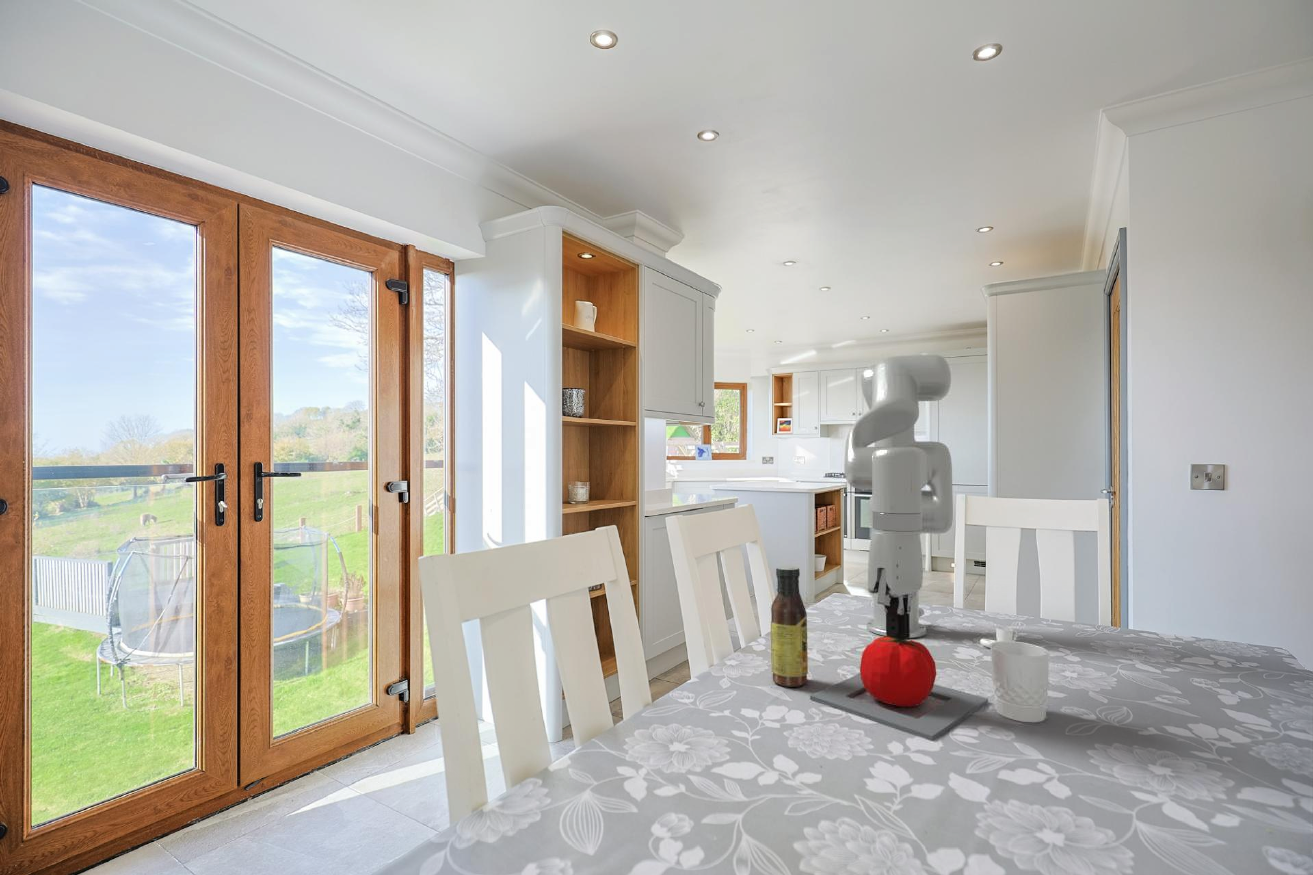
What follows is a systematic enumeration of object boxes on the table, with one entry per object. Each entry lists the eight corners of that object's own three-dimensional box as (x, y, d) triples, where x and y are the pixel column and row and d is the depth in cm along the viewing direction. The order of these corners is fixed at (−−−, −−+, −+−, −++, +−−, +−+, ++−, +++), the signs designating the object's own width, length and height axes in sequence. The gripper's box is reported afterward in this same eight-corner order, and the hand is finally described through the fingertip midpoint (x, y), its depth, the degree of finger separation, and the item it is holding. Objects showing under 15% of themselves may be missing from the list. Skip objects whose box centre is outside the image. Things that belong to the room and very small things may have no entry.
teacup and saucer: (982, 651, 129) (982, 631, 130) (975, 640, 137) (975, 621, 137) (1031, 655, 127) (1031, 635, 127) (1021, 644, 134) (1021, 625, 135)
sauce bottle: (811, 689, 108) (810, 571, 109) (774, 688, 108) (773, 571, 109) (803, 675, 115) (802, 564, 115) (768, 675, 115) (768, 564, 115)
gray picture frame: (873, 670, 117) (873, 667, 117) (988, 702, 102) (988, 698, 102) (810, 699, 104) (810, 695, 104) (932, 740, 89) (931, 736, 89)
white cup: (1034, 704, 101) (1033, 641, 102) (1060, 726, 94) (1059, 657, 94) (982, 703, 102) (981, 640, 102) (1004, 723, 94) (1003, 655, 95)
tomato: (888, 719, 96) (887, 651, 96) (846, 692, 107) (845, 630, 107) (955, 711, 99) (954, 644, 99) (907, 684, 110) (906, 624, 110)
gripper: (897, 519, 111) (898, 625, 111) (851, 524, 101) (852, 641, 101) (940, 522, 106) (941, 634, 105) (896, 528, 96) (897, 652, 95)
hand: (897, 637), depth 103 cm, fingers closed
